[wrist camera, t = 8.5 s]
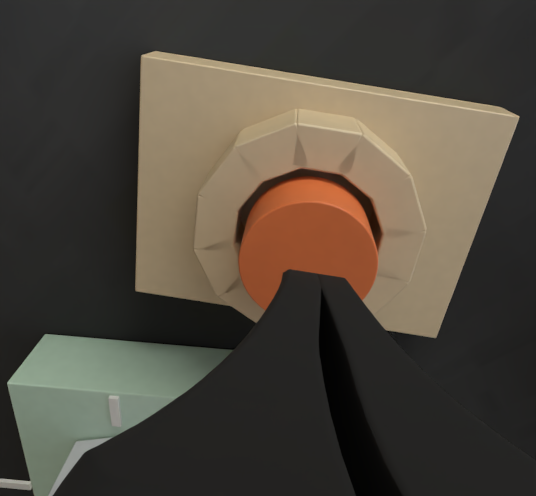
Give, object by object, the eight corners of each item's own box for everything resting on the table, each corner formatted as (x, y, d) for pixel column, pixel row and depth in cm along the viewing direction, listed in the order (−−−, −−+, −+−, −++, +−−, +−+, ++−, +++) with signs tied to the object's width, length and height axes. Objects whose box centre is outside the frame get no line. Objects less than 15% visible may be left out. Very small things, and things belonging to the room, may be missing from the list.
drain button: (382, 186, 13) (395, 213, 12) (353, 295, 15) (360, 333, 13) (253, 166, 13) (247, 190, 12) (238, 277, 15) (230, 313, 13)
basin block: (354, 359, 20) (362, 417, 17) (324, 527, 25) (327, 593, 22) (13, 330, 20) (-33, 382, 18) (51, 501, 25) (19, 563, 22)
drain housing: (501, 106, 15) (553, 132, 12) (426, 315, 19) (452, 376, 16) (154, 50, 15) (116, 62, 12) (146, 271, 19) (115, 324, 16)
